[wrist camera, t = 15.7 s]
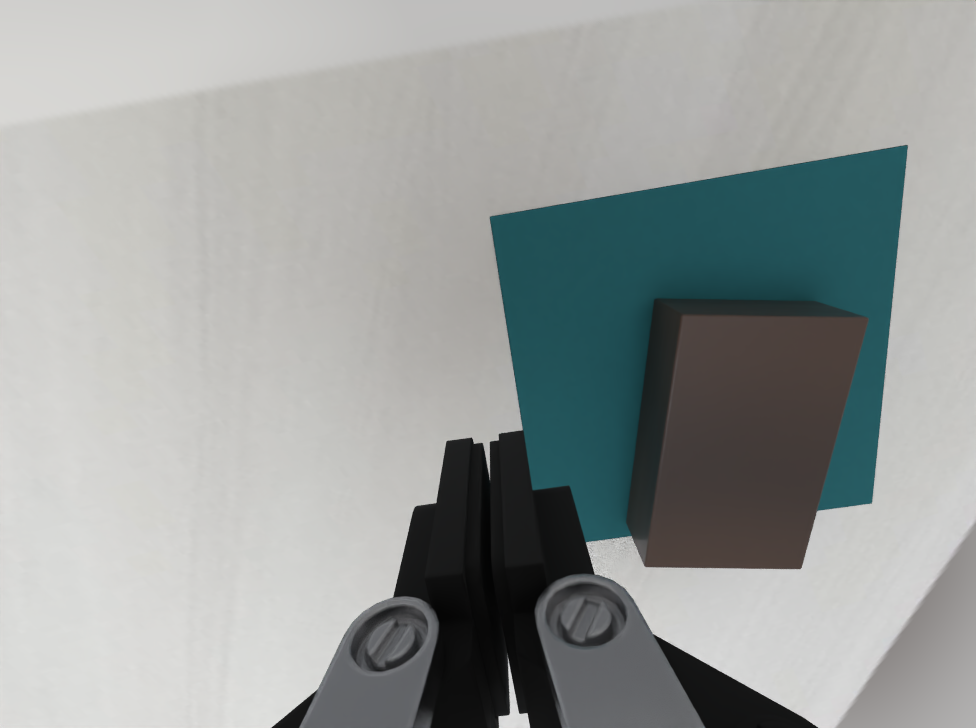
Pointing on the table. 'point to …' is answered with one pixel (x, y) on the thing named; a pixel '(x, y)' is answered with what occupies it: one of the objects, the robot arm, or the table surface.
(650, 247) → the mat
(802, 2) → the table surface
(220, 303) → the table surface
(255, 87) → the table surface
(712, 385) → the walnut block
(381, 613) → the robot arm
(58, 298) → the table surface
